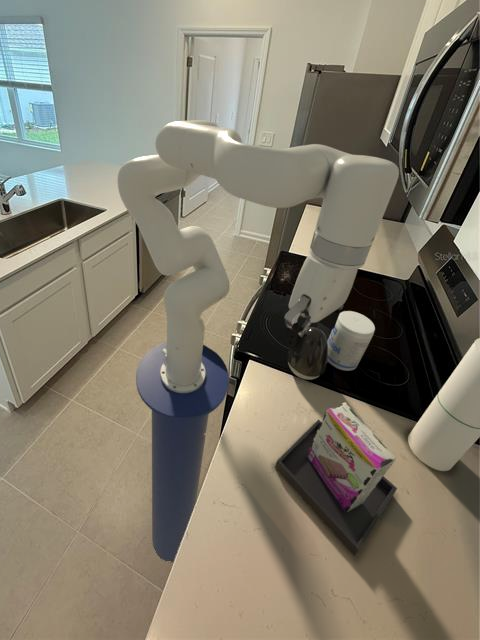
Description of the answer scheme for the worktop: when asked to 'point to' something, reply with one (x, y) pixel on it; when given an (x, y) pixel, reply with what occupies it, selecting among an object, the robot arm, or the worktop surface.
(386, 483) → the pan
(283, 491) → the worktop surface
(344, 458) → the candy bar box
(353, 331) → the supplement tub
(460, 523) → the worktop surface
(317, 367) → the dark glass dome
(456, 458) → the container
